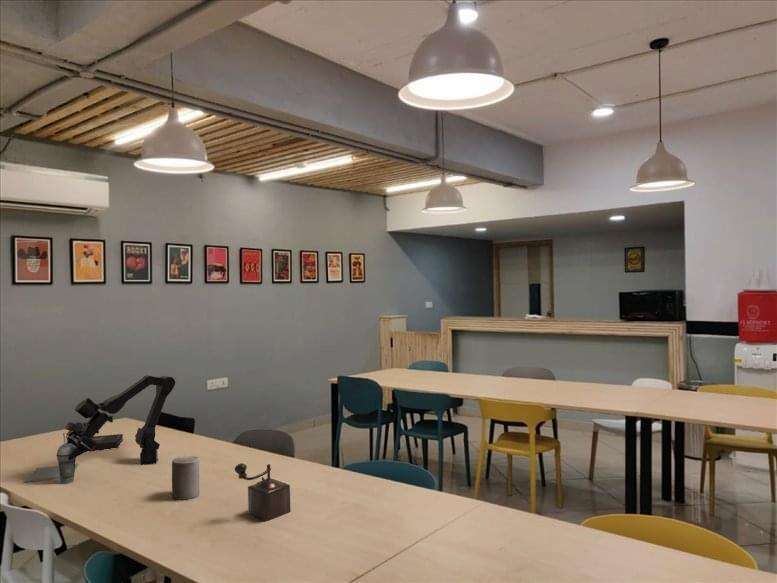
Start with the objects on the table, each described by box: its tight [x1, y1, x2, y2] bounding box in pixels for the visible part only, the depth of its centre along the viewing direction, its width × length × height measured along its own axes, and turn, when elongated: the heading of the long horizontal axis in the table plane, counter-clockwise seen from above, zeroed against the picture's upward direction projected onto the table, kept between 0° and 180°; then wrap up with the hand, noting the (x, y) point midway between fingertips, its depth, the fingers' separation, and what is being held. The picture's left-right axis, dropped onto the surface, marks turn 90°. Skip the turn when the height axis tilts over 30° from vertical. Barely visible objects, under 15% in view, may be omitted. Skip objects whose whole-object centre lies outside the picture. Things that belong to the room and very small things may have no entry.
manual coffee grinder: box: [234, 463, 291, 522], centre depth 181 cm, size 16×11×18 cm
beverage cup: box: [56, 432, 77, 485], centre depth 219 cm, size 7×7×20 cm
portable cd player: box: [89, 433, 124, 452], centre depth 273 cm, size 16×17×4 cm
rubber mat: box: [24, 463, 79, 483], centre depth 231 cm, size 16×18×1 cm
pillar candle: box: [171, 455, 201, 501], centre depth 200 cm, size 10×10×15 cm
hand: (65, 457), depth 219 cm, fingers open, 9 cm apart
